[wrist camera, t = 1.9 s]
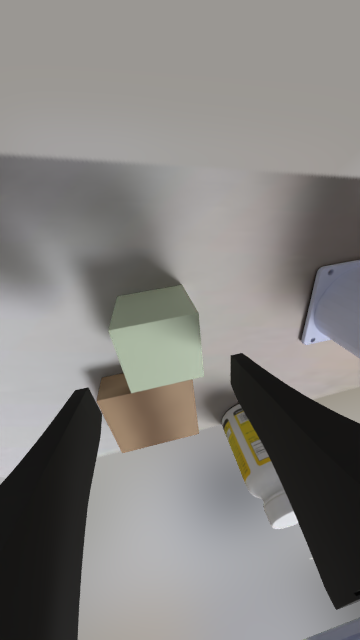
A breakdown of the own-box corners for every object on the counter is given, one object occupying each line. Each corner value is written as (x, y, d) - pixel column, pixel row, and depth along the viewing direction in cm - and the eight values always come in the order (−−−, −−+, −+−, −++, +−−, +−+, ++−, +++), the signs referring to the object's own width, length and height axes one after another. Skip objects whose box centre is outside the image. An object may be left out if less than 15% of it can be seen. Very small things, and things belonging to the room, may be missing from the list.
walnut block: (185, 357, 19) (192, 379, 17) (192, 409, 23) (198, 433, 21) (102, 374, 19) (96, 401, 16) (124, 425, 22) (122, 453, 20)
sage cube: (181, 284, 15) (198, 313, 11) (188, 336, 18) (203, 376, 14) (117, 296, 15) (108, 330, 11) (133, 348, 17) (131, 393, 13)
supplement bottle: (238, 433, 27) (283, 534, 18) (212, 421, 24) (250, 531, 16) (269, 409, 26) (333, 507, 17) (244, 394, 23) (305, 499, 15)
